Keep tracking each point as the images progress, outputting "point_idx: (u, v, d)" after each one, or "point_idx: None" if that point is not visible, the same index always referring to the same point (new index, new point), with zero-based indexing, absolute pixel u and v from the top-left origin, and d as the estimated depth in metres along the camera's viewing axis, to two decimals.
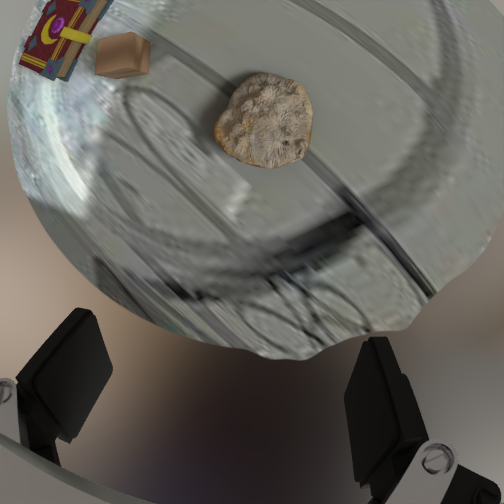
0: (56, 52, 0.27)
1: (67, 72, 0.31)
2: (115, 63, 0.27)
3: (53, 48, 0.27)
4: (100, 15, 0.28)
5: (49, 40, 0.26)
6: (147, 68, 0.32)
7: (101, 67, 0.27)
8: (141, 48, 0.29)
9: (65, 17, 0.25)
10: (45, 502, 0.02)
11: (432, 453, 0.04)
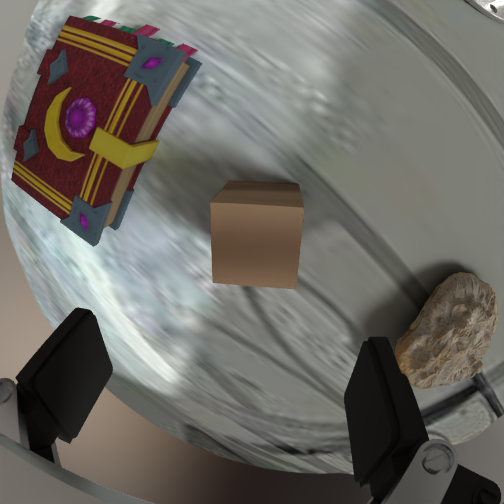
0: (89, 186, 0.18)
1: (117, 214, 0.22)
2: (264, 274, 0.17)
3: (80, 174, 0.18)
4: (174, 99, 0.18)
5: (66, 152, 0.17)
6: None
7: (228, 272, 0.17)
8: None
9: (95, 100, 0.15)
10: (45, 502, 0.02)
11: (432, 453, 0.04)
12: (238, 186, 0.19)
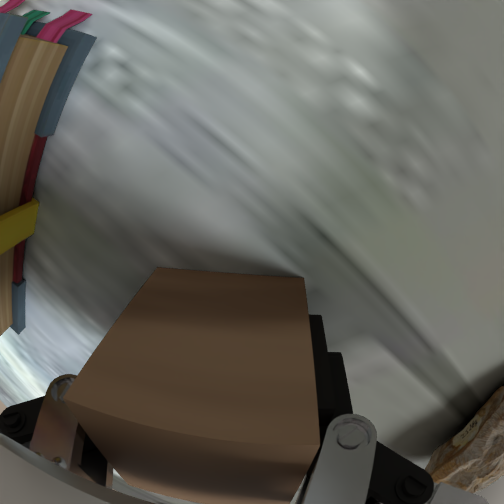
0: None
1: (12, 315, 0.11)
2: (220, 499, 0.06)
3: None
4: (46, 120, 0.07)
5: None
6: None
7: (149, 485, 0.06)
8: None
9: None
10: (45, 502, 0.02)
11: (344, 429, 0.06)
12: (163, 298, 0.08)
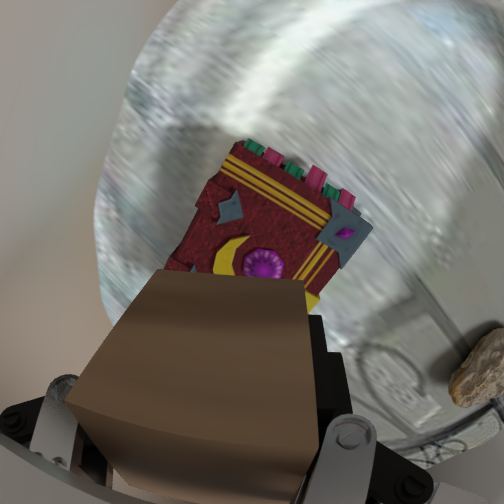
0: None
1: None
2: (220, 500, 0.06)
3: None
4: None
5: None
6: None
7: (150, 486, 0.06)
8: None
9: (282, 254, 0.21)
10: (45, 502, 0.02)
11: (344, 429, 0.06)
12: (163, 300, 0.08)
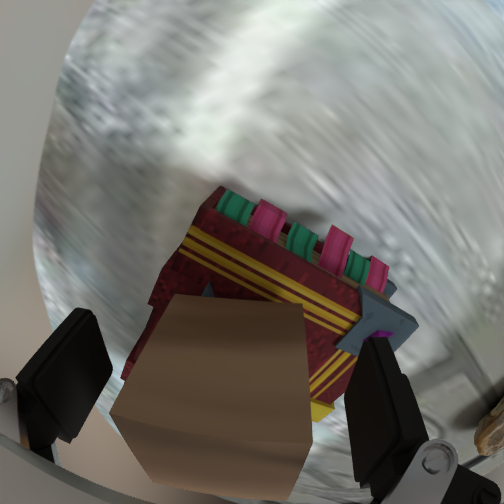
0: None
1: None
2: (232, 490, 0.07)
3: None
4: None
5: None
6: None
7: (173, 480, 0.08)
8: None
9: None
10: (45, 502, 0.02)
11: (432, 453, 0.04)
12: (183, 324, 0.10)
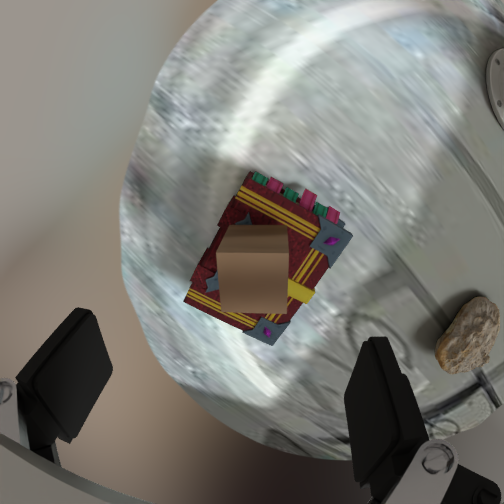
0: None
1: None
2: (261, 304, 0.22)
3: None
4: None
5: None
6: None
7: (233, 303, 0.22)
8: None
9: None
10: (45, 502, 0.02)
11: (432, 453, 0.04)
12: (237, 232, 0.24)
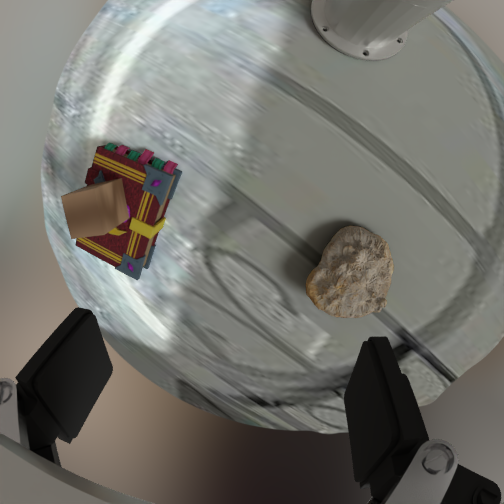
0: (132, 248, 0.36)
1: (147, 260, 0.40)
2: (89, 229, 0.28)
3: (125, 241, 0.35)
4: (170, 194, 0.36)
5: (115, 230, 0.35)
6: (126, 213, 0.33)
7: (75, 231, 0.28)
8: (112, 197, 0.30)
9: (128, 202, 0.33)
10: (45, 502, 0.02)
11: (432, 453, 0.04)
12: (87, 186, 0.30)
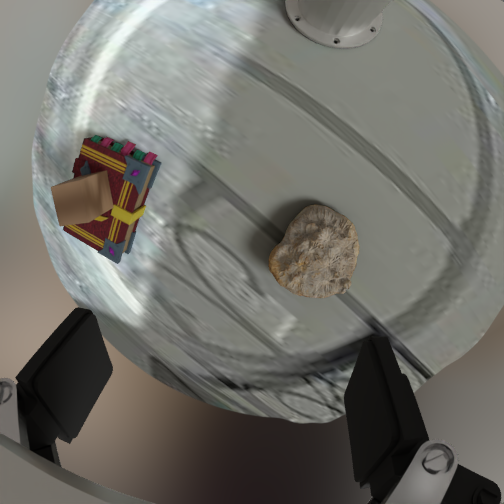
0: (113, 233, 0.37)
1: (128, 245, 0.41)
2: (75, 217, 0.29)
3: (107, 227, 0.37)
4: (150, 184, 0.38)
5: None
6: (111, 202, 0.34)
7: (63, 219, 0.30)
8: (97, 188, 0.31)
9: (110, 190, 0.35)
10: (45, 502, 0.02)
11: (432, 453, 0.04)
12: (75, 178, 0.32)
